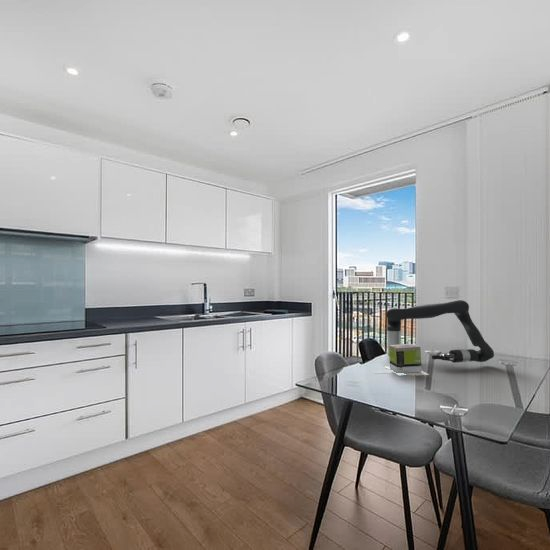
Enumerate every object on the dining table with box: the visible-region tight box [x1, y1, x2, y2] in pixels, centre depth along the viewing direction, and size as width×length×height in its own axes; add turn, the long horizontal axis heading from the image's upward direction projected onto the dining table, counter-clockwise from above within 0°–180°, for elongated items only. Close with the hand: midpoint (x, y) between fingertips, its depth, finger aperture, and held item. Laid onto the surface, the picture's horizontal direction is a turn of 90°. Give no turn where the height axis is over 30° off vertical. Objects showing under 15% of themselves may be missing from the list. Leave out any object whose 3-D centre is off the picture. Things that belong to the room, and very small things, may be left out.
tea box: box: [388, 343, 423, 373], centre depth 195 cm, size 15×10×15 cm, turn 95°
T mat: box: [384, 365, 430, 377], centre depth 195 cm, size 20×30×1 cm, turn 96°
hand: (432, 357), depth 197 cm, fingers closed
